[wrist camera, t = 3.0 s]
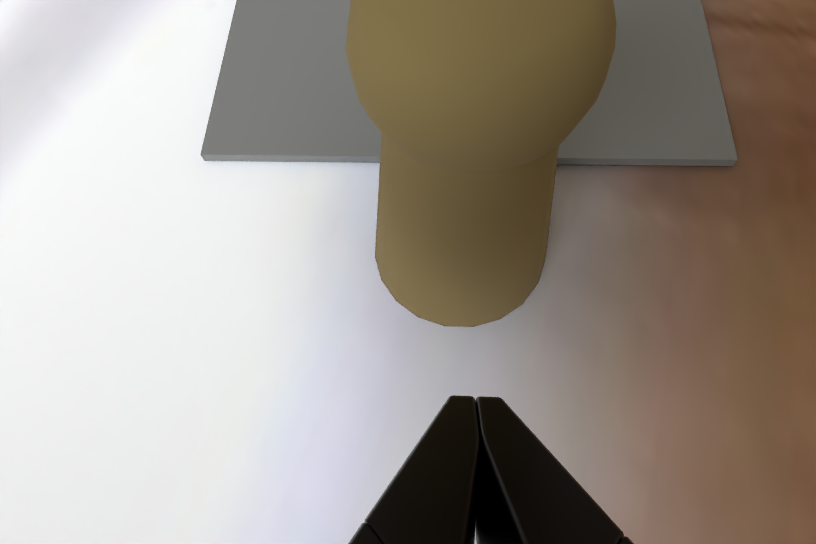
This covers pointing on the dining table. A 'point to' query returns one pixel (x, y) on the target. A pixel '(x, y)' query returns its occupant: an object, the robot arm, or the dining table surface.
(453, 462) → the robot arm
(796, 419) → the dining table surface
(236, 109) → the rubber mat
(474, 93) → the cork
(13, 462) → the dining table surface
